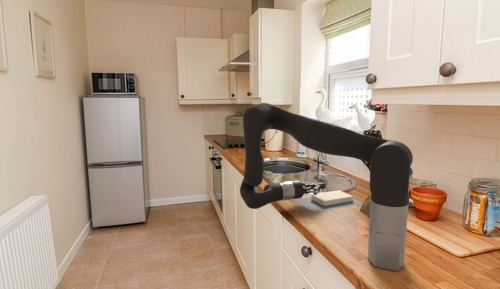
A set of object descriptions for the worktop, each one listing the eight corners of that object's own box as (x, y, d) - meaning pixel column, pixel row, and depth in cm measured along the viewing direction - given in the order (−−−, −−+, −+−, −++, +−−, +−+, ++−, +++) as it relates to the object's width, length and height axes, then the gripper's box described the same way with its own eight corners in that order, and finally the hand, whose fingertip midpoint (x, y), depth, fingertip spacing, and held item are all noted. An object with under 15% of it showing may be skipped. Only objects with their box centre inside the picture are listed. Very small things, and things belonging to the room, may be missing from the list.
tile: (324, 200, 121) (353, 196, 127) (311, 194, 130) (339, 190, 135) (324, 206, 122) (353, 201, 127) (311, 200, 130) (339, 195, 136)
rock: (397, 217, 107) (386, 204, 117) (385, 200, 106) (375, 188, 115) (371, 233, 109) (362, 218, 119) (359, 216, 108) (351, 203, 117)
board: (313, 215, 116) (313, 212, 116) (292, 202, 130) (292, 200, 130) (365, 205, 126) (365, 203, 126) (340, 195, 140) (340, 192, 140)
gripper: (298, 185, 113) (335, 180, 119) (281, 177, 125) (315, 173, 131) (297, 204, 114) (334, 198, 120) (281, 194, 126) (315, 189, 133)
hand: (324, 185), depth 126 cm, fingers closed
